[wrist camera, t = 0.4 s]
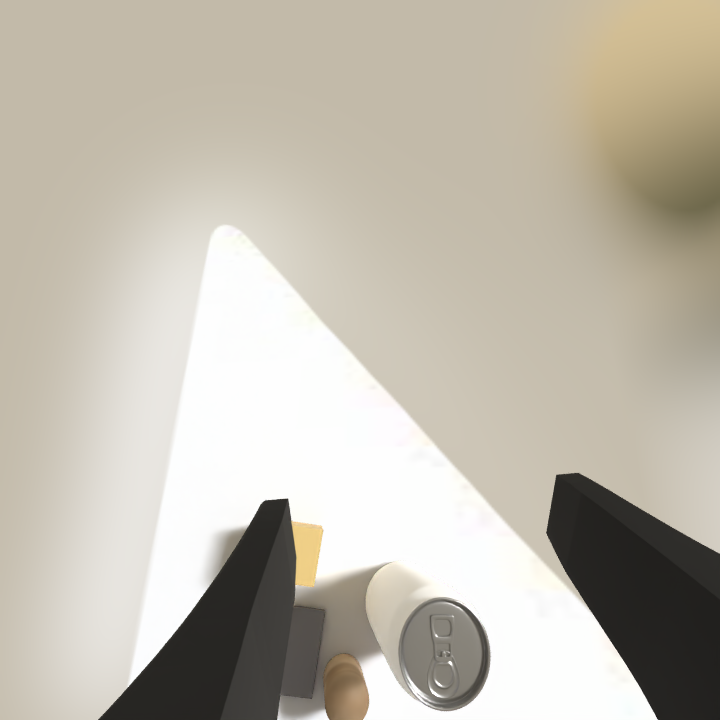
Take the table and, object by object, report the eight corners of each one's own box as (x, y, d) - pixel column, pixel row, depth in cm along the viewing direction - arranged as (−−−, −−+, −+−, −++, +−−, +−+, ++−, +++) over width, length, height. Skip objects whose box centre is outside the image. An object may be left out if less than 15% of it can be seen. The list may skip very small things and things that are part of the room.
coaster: (311, 696, 31) (311, 698, 30) (236, 687, 30) (235, 689, 30) (325, 610, 33) (325, 611, 32) (255, 600, 32) (254, 601, 32)
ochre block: (313, 574, 34) (313, 587, 29) (268, 568, 33) (261, 579, 29) (321, 525, 35) (323, 530, 30) (278, 519, 35) (273, 522, 30)
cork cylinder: (359, 703, 31) (365, 731, 27) (320, 698, 31) (321, 726, 27) (364, 656, 32) (371, 677, 28) (327, 651, 32) (329, 671, 28)
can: (363, 644, 32) (390, 722, 21) (365, 558, 35) (391, 588, 23) (437, 644, 33) (502, 720, 22) (435, 560, 35) (493, 590, 24)
